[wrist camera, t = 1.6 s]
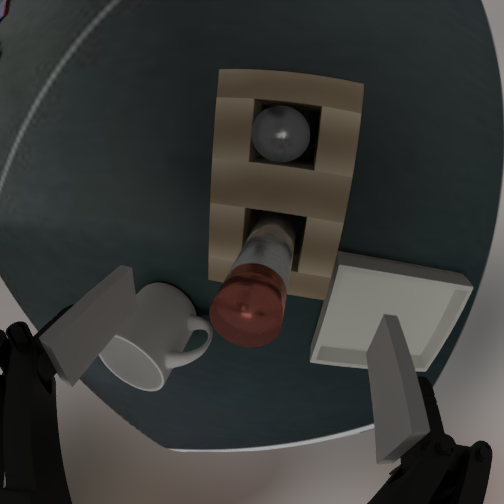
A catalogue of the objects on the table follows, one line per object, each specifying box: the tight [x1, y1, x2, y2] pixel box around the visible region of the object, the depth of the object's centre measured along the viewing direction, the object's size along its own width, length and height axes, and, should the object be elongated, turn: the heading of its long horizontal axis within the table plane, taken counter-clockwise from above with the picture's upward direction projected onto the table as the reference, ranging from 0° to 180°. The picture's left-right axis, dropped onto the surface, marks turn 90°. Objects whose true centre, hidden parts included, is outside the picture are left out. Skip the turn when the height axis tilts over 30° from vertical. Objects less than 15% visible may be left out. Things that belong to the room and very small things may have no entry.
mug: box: [99, 283, 213, 391], centre depth 29 cm, size 9×12×11 cm
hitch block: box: [209, 69, 364, 300], centre depth 22 cm, size 17×10×6 cm, turn 175°
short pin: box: [251, 106, 310, 162], centre depth 19 cm, size 3×3×9 cm
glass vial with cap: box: [209, 210, 298, 347], centre depth 19 cm, size 3×3×16 cm
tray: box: [310, 251, 473, 372], centre depth 27 cm, size 13×16×3 cm
